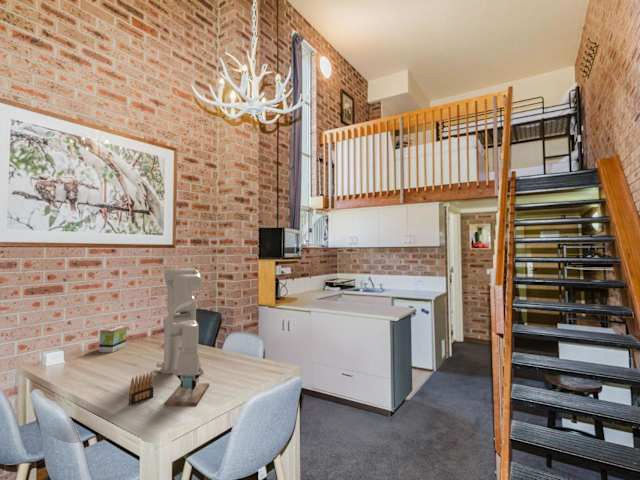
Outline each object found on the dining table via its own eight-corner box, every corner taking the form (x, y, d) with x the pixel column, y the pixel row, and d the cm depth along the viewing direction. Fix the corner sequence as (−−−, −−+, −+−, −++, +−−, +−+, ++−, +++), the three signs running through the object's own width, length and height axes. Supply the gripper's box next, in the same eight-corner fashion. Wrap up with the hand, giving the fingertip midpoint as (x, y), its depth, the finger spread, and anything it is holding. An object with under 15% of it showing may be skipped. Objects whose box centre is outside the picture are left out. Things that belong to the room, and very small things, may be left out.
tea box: (113, 352, 227) (114, 330, 227) (98, 352, 227) (99, 330, 227) (126, 346, 242) (127, 325, 242) (112, 346, 242) (113, 325, 242)
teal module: (182, 393, 159) (182, 378, 160) (186, 388, 165) (186, 373, 166) (190, 393, 160) (191, 378, 160) (194, 388, 166) (195, 373, 166)
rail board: (164, 406, 151) (164, 394, 151) (180, 386, 173) (181, 375, 173) (196, 405, 152) (197, 393, 152) (208, 386, 174) (209, 375, 174)
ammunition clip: (151, 396, 161) (152, 370, 161) (153, 397, 160) (154, 371, 160) (128, 404, 152) (129, 377, 152) (130, 405, 151) (131, 378, 151)
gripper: (168, 352, 159) (167, 392, 158) (205, 352, 160) (204, 391, 159) (174, 347, 166) (173, 385, 165) (209, 347, 167) (208, 385, 167)
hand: (188, 388), depth 162 cm, fingers closed on teal module, 4 cm apart
